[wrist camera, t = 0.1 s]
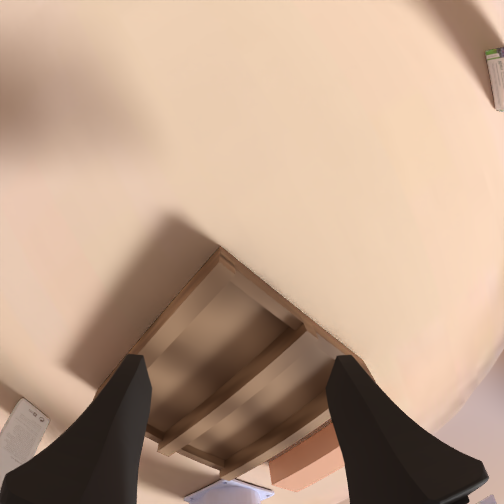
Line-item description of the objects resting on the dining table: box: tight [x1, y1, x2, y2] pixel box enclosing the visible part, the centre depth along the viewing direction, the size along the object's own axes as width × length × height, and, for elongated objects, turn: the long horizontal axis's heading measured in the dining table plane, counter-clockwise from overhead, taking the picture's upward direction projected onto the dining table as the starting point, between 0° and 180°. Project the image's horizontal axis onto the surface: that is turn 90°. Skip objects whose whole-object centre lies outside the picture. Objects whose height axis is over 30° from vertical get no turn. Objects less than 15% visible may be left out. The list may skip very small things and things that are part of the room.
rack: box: [92, 246, 376, 481], centre depth 23 cm, size 18×16×3 cm
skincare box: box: [0, 398, 50, 490], centre depth 19 cm, size 6×4×12 cm
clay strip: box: [269, 423, 345, 492], centre depth 26 cm, size 14×4×4 cm, turn 136°
